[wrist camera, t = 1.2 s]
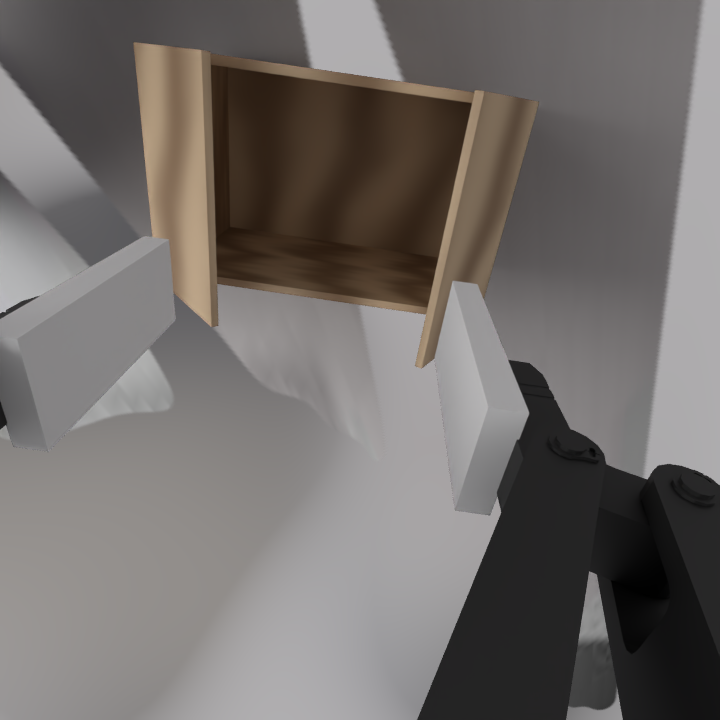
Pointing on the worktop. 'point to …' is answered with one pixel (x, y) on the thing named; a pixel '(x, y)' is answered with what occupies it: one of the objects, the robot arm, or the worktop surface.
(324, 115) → the carton
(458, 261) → the flap
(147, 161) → the flap
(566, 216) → the worktop surface
